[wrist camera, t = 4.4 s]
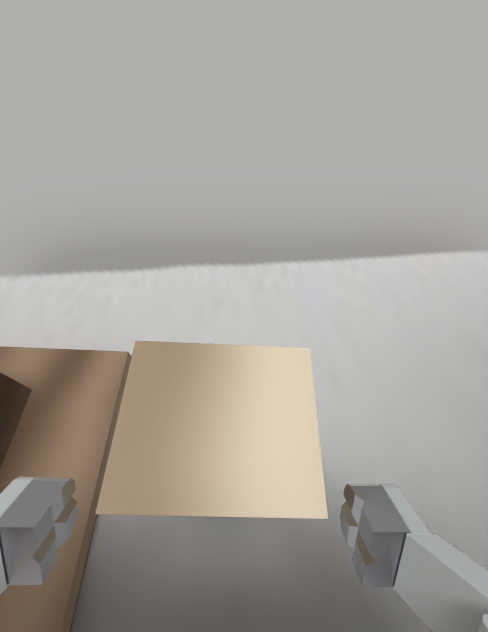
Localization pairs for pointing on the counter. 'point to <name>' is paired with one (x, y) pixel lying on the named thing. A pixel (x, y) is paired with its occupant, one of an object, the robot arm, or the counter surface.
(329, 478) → the counter surface
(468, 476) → the counter surface
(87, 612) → the counter surface
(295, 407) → the upright wooden square peg
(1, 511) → the robot arm
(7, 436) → the square hole base plate
